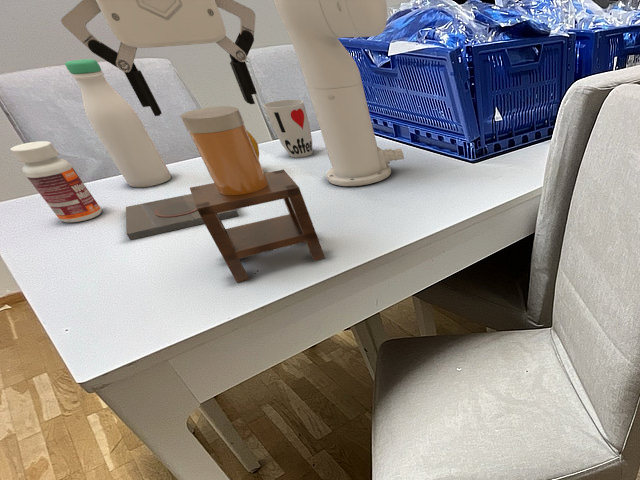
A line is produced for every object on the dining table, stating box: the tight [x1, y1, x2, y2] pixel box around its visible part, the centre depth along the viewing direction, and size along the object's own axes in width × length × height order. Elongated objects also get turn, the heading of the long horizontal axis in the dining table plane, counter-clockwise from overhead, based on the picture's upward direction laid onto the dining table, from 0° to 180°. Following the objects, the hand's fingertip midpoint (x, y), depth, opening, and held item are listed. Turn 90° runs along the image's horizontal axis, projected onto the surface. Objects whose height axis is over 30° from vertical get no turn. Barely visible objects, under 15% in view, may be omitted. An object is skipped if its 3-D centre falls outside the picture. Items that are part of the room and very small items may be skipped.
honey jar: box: [180, 106, 268, 196], centre depth 56 cm, size 6×6×8 cm
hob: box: [125, 193, 239, 241], centre depth 78 cm, size 16×14×1 cm
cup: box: [262, 99, 314, 158], centre depth 100 cm, size 8×8×10 cm
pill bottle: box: [10, 140, 103, 223], centre depth 75 cm, size 6×6×11 cm
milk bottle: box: [64, 58, 172, 188], centre depth 84 cm, size 8×8×20 cm
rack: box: [189, 168, 326, 283], centre depth 62 cm, size 12×9×10 cm
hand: (205, 107), depth 52 cm, fingers open, 9 cm apart
